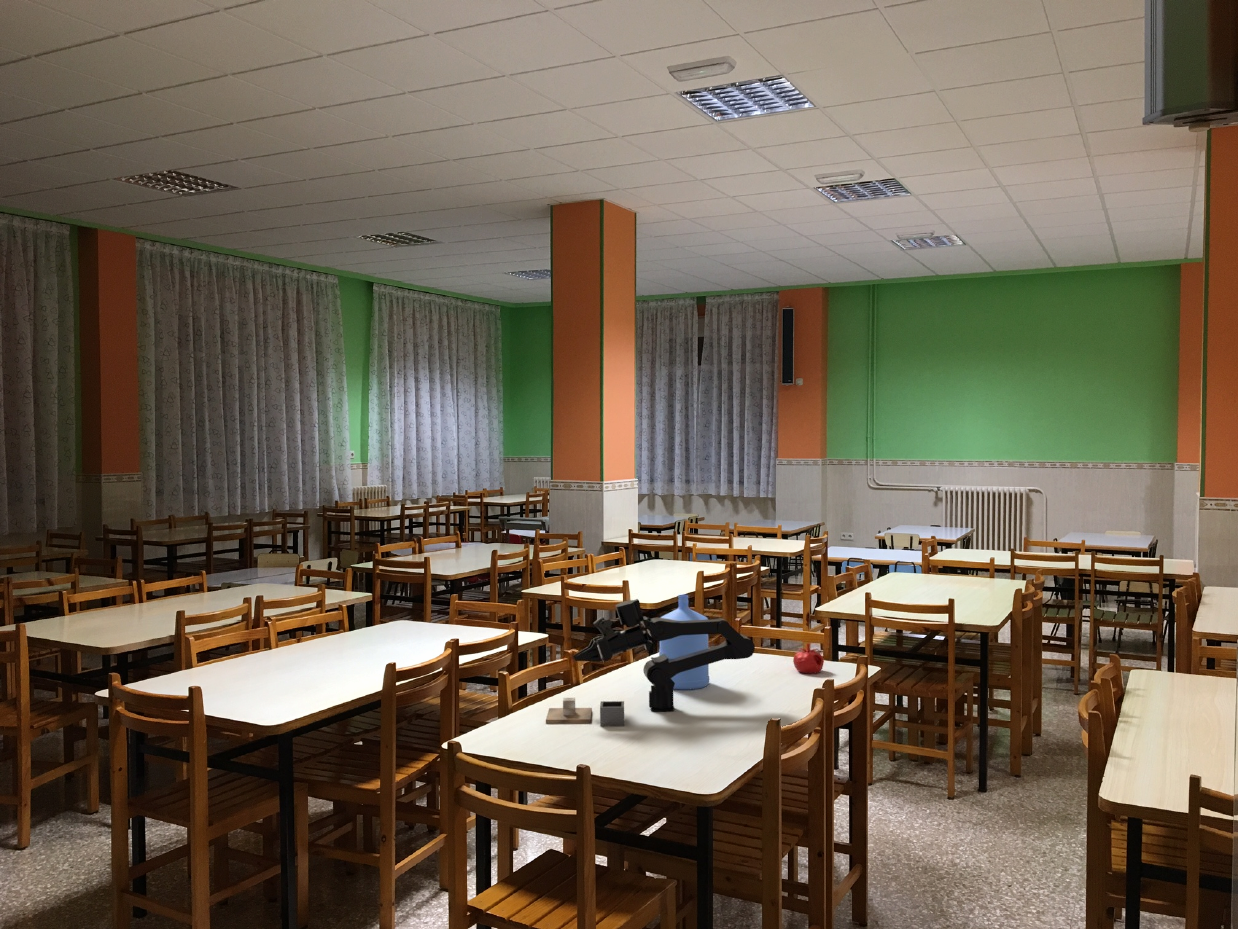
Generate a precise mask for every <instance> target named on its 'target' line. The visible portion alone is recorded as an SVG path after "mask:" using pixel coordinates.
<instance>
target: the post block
mask: <svg viewBox="0 0 1238 929" xmlns="http://www.w3.org/2000/svg"><path fill="white" fill-rule="evenodd" d="M592 710H593V708H592V707H576V697H563V699H562V707H549V708H548V711H547V715H546V718H545V724H590V723H591V721H590V720H592V712H593V711H592Z"/></svg>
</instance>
